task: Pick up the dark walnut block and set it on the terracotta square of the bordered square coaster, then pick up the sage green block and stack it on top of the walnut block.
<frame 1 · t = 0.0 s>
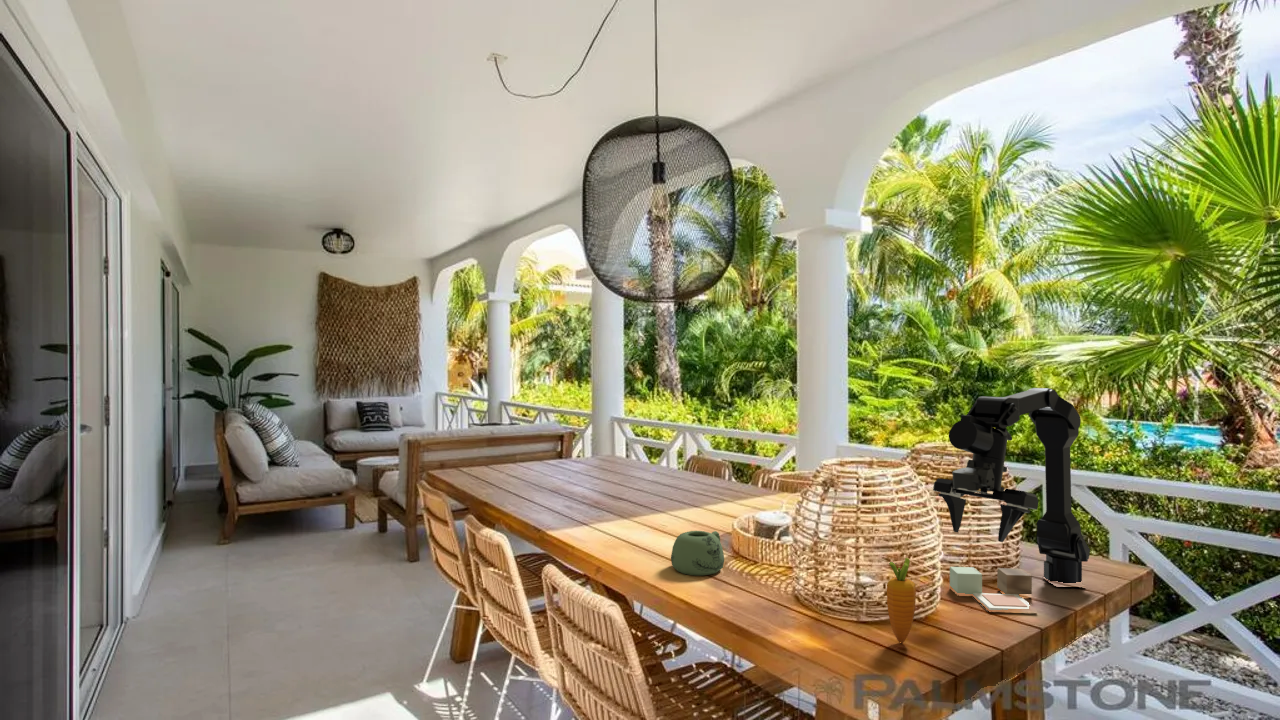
hand: (977, 536, 140), 15 cm above the table, tool pointing down, fingers open, 9 cm apart
walnut block: (1014, 595, 152), on the table
sage block: (965, 593, 153), on the table
green animal planter: (701, 569, 172), on the table
bordered square coaster: (1004, 605, 146), on the table
carrot: (901, 644, 126), on the table
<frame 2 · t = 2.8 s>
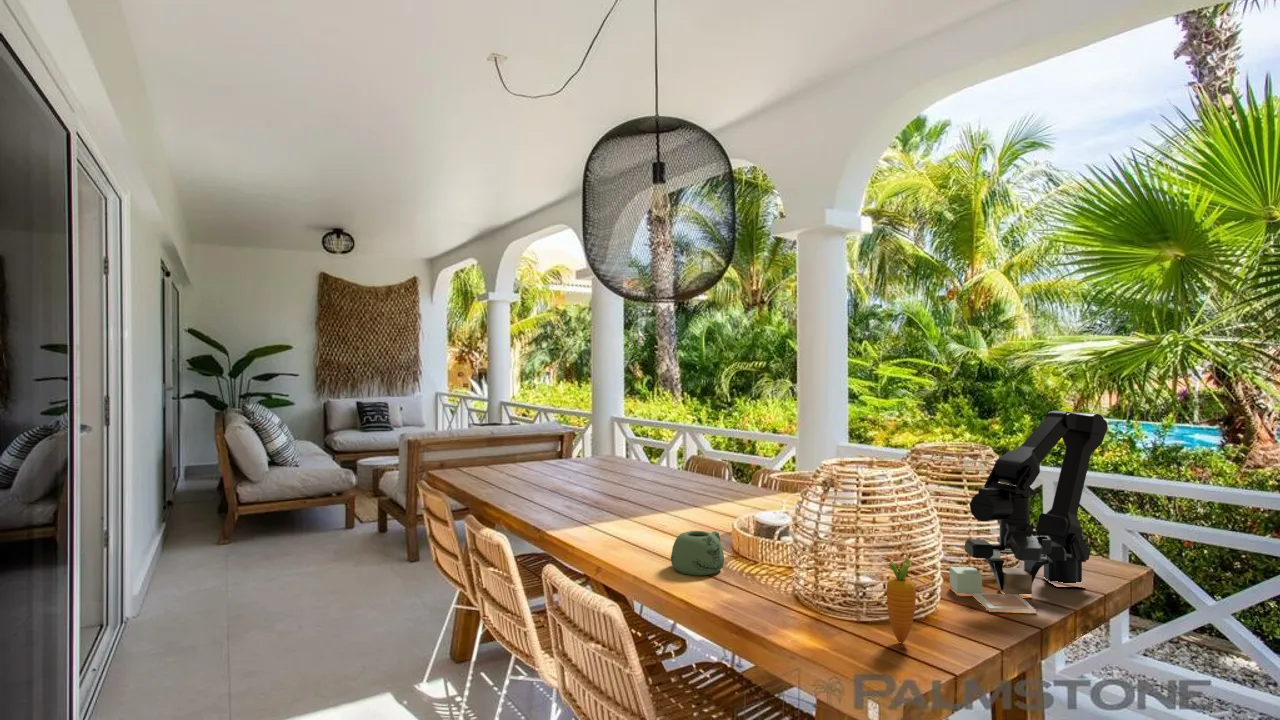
hand: (1014, 589, 152), 1 cm above the table, tool pointing down, fingers closed on walnut block, 5 cm apart
walnut block: (1014, 594, 152), on the table, touching gripper
everything else where it was.
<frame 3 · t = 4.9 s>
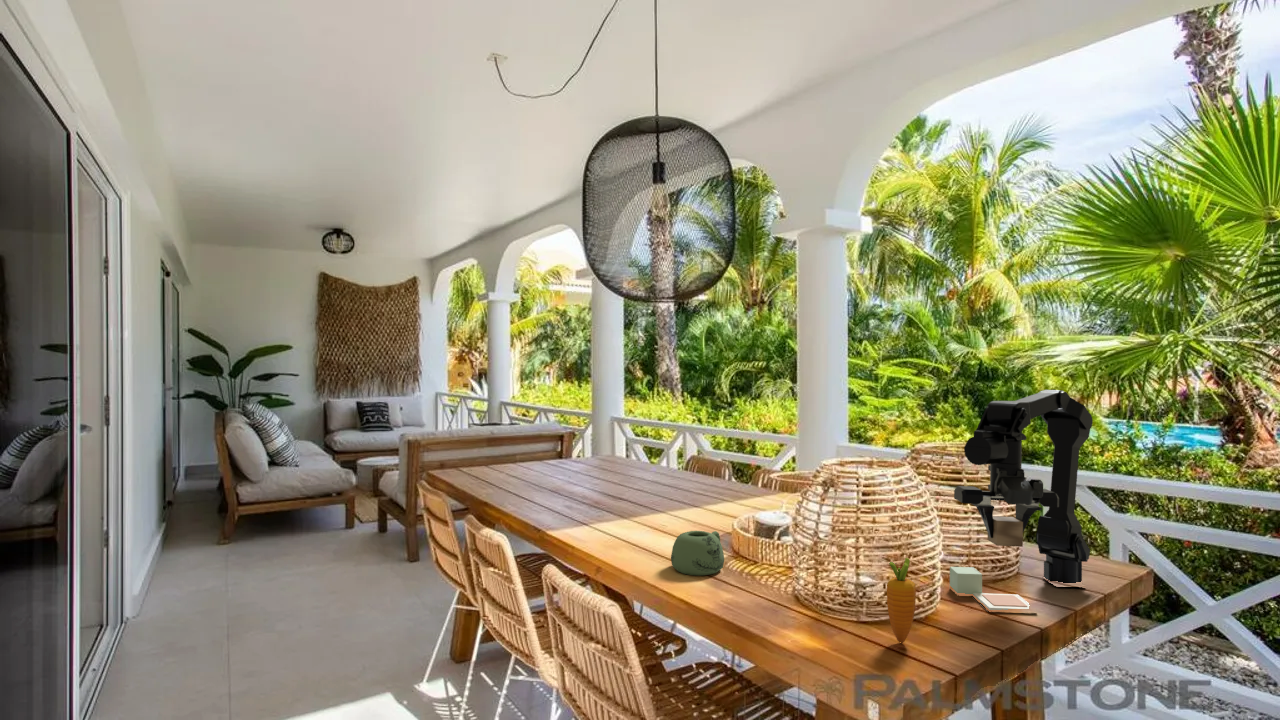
hand: (1004, 538, 147), 14 cm above the table, tool pointing down, fingers closed on walnut block, 5 cm apart
walnut block: (1004, 543, 147), point 12 cm above the table, touching gripper
everything else where it was.
when the fingers open (4 cm above the table, at t = 7.2 s): walnut block drops 1 cm, resting on bordered square coaster.
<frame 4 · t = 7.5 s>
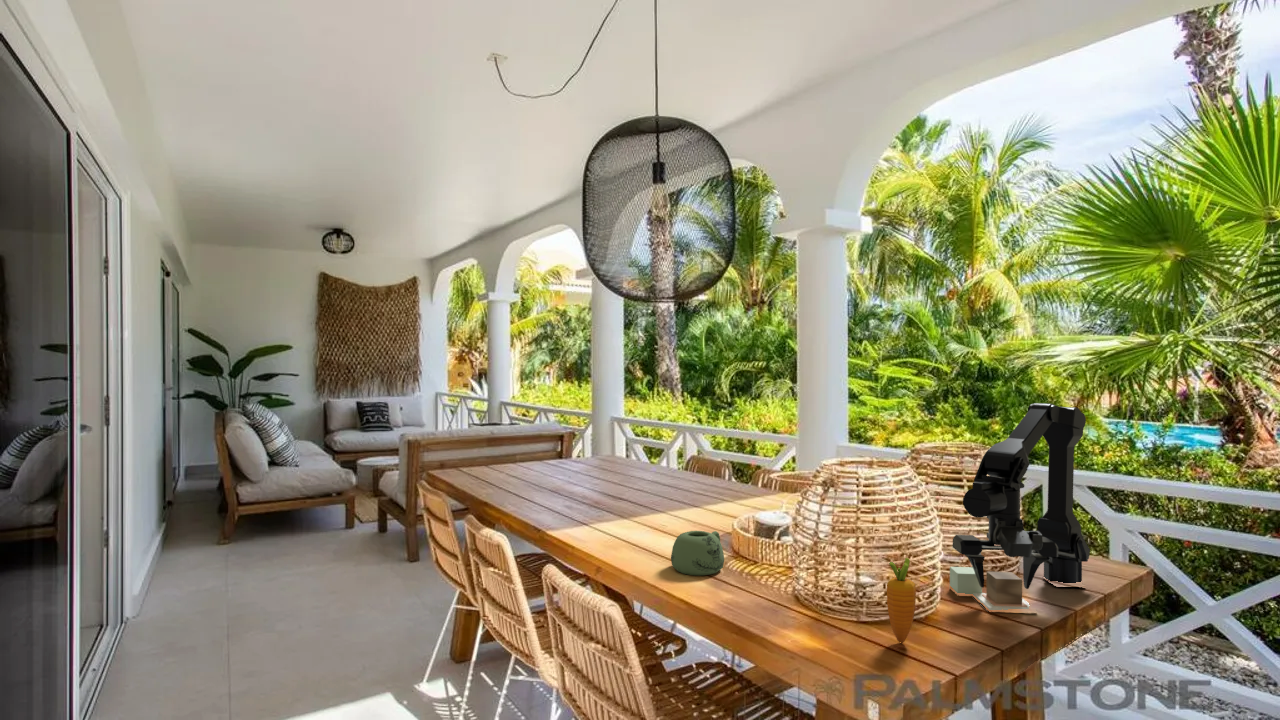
hand: (1004, 587, 146), 4 cm above the table, tool pointing down, fingers open, 8 cm apart
walnut block: (1003, 599, 146), point 1 cm above the table, touching bordered square coaster
everything else where it was.
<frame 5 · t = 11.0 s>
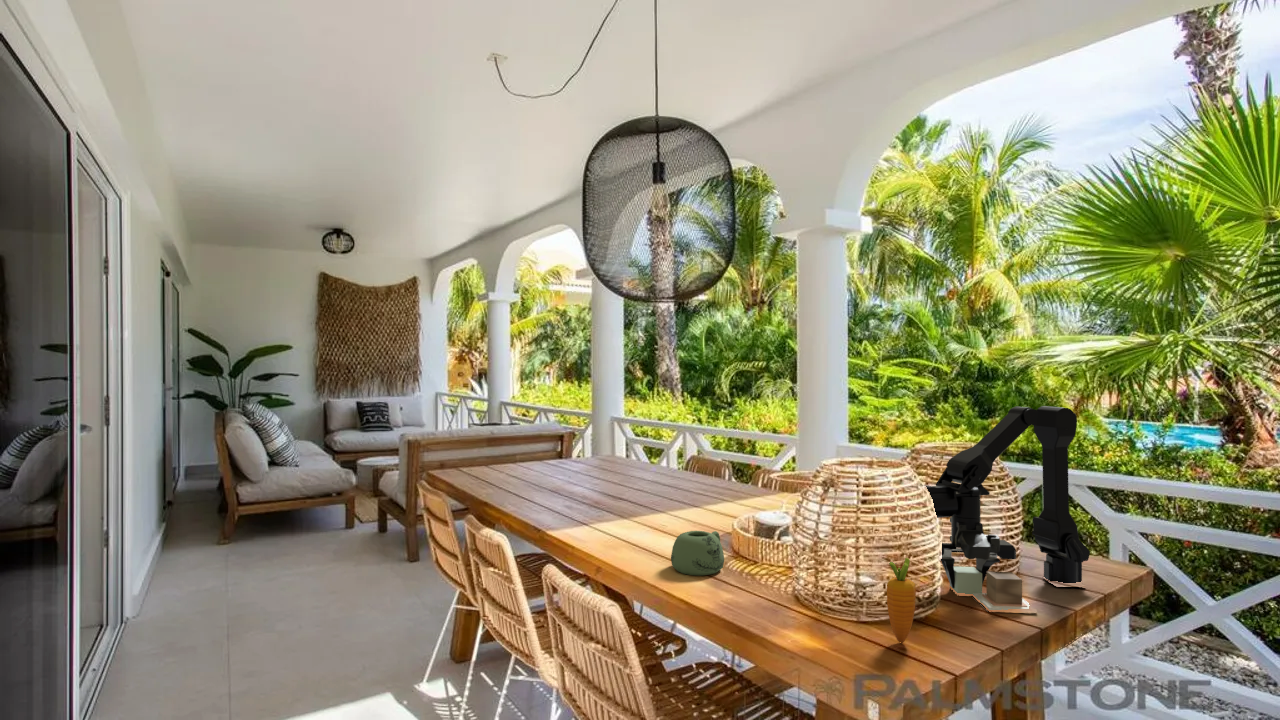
hand: (965, 588, 153), 1 cm above the table, tool pointing down, fingers closed on sage block, 5 cm apart
sage block: (965, 593, 153), on the table, touching gripper
everything else where it was.
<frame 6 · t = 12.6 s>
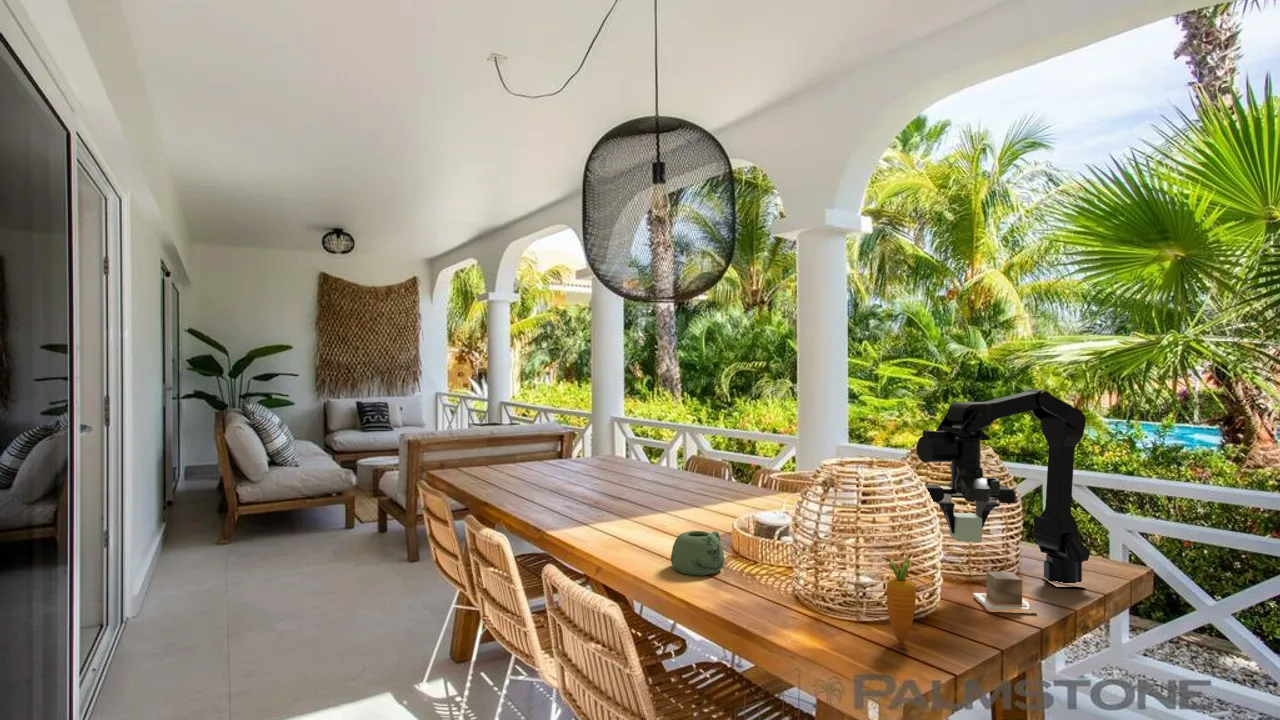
hand: (965, 533, 153), 13 cm above the table, tool pointing down, fingers closed on sage block, 5 cm apart
sage block: (965, 538, 153), point 12 cm above the table, touching gripper
everything else where it was.
when the fingers open (8 cm above the table, at t = 14.5 s): sage block drops 1 cm, resting on walnut block.
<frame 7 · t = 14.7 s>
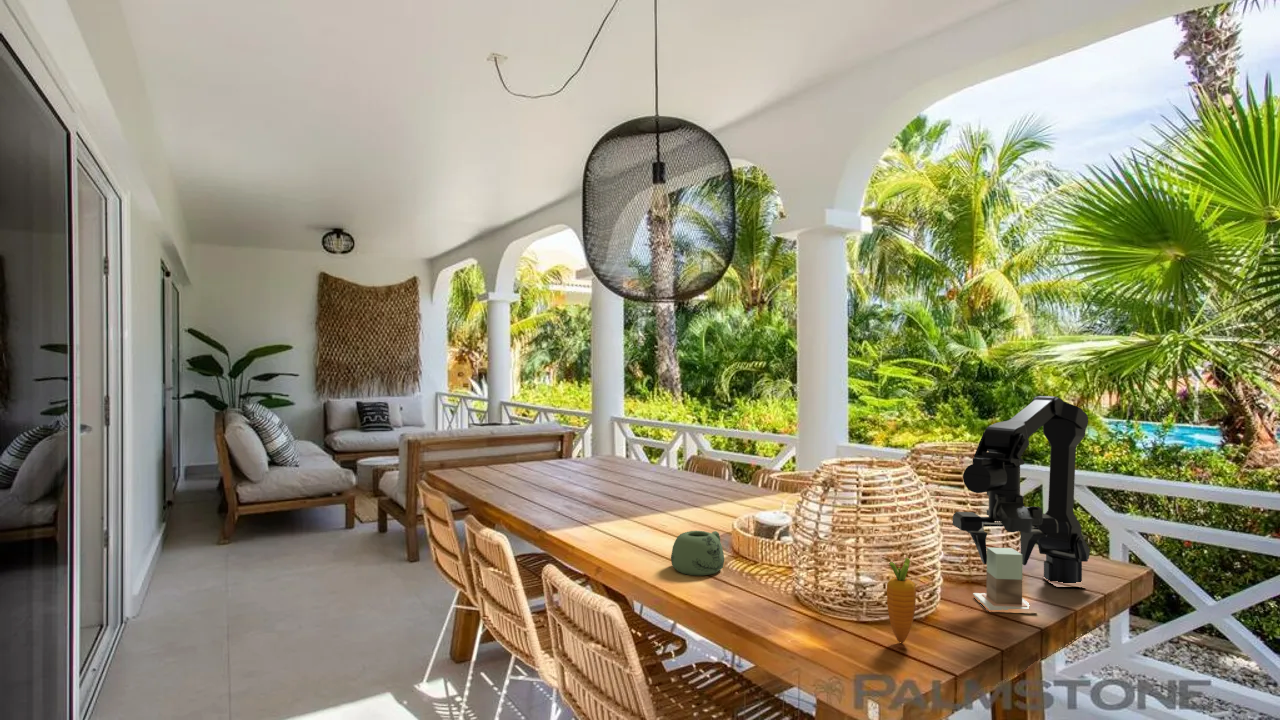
hand: (1004, 564, 146), 8 cm above the table, tool pointing down, fingers open, 7 cm apart
walnut block: (1003, 599, 146), point 1 cm above the table, touching bordered square coaster, sage block
sage block: (1004, 575, 145), point 6 cm above the table, touching walnut block
everything else where it was.
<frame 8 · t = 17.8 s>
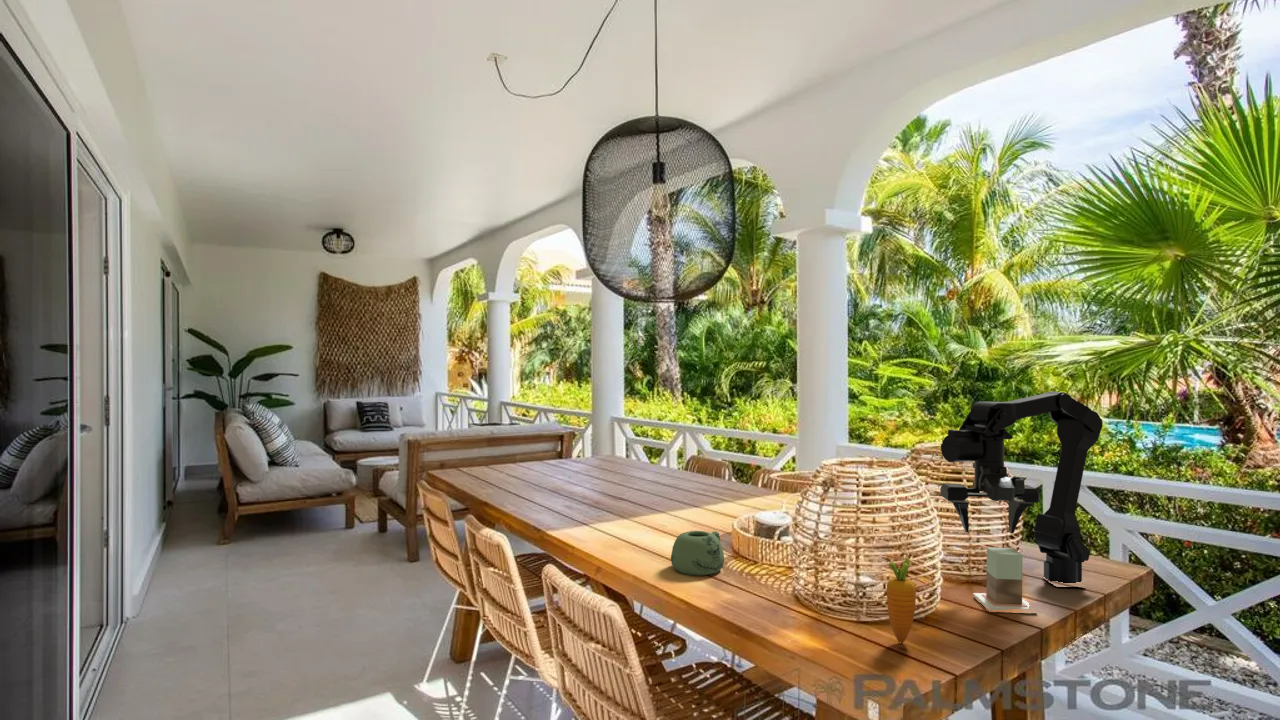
hand: (989, 532, 153), 13 cm above the table, tool pointing down, fingers open, 9 cm apart
nothing on the table moved.
at the end: walnut block 0.0 cm off-centre on the bordered square coaster, point 1.2 cm above the bordered square coaster's base; sage block 0.0 cm off-centre on the walnut block, point 5.0 cm above the walnut block's base; sage block tilted 0° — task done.
